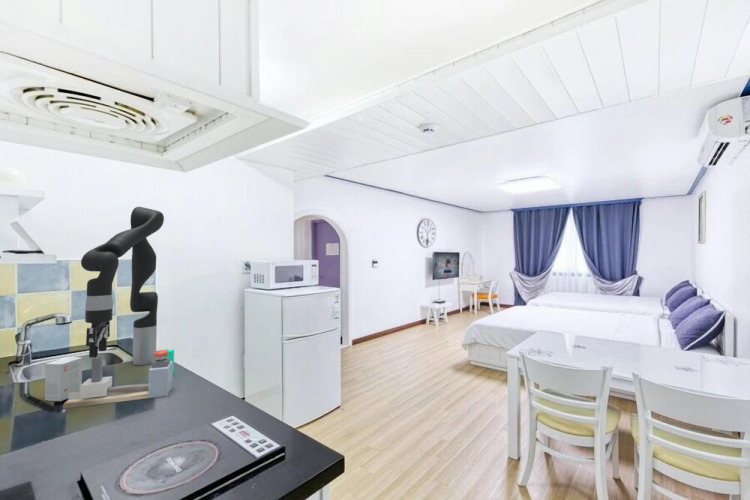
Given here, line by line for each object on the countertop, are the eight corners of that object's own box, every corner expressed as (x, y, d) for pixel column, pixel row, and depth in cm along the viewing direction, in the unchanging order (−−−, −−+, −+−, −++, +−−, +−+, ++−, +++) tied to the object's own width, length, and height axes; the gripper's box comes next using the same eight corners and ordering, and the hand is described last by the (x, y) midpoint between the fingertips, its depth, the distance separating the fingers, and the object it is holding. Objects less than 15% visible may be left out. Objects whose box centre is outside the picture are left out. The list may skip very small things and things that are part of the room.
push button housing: (154, 388, 131) (154, 357, 131) (171, 386, 133) (172, 355, 133) (148, 398, 123) (148, 364, 123) (167, 395, 125) (168, 362, 125)
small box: (66, 391, 127) (67, 356, 128) (82, 392, 127) (83, 357, 127) (43, 400, 119) (44, 363, 119) (61, 401, 119) (61, 364, 119)
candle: (176, 374, 146) (177, 346, 146) (161, 379, 141) (162, 349, 141) (169, 372, 149) (169, 344, 150) (154, 376, 144) (154, 347, 145)
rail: (75, 397, 122) (75, 388, 122) (154, 388, 131) (154, 379, 131) (63, 408, 114) (63, 397, 114) (148, 398, 123) (148, 388, 123)
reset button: (155, 359, 129) (155, 350, 129) (169, 358, 131) (169, 349, 131) (152, 363, 125) (153, 353, 125) (166, 361, 127) (166, 352, 127)
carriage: (88, 391, 123) (89, 356, 123) (112, 389, 125) (112, 354, 125) (79, 399, 116) (80, 362, 116) (105, 396, 119) (105, 359, 119)
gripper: (104, 310, 116) (103, 358, 116) (118, 304, 129) (117, 347, 129) (77, 311, 113) (76, 360, 113) (94, 305, 126) (93, 349, 126)
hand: (98, 353), depth 121 cm, fingers open, 8 cm apart
